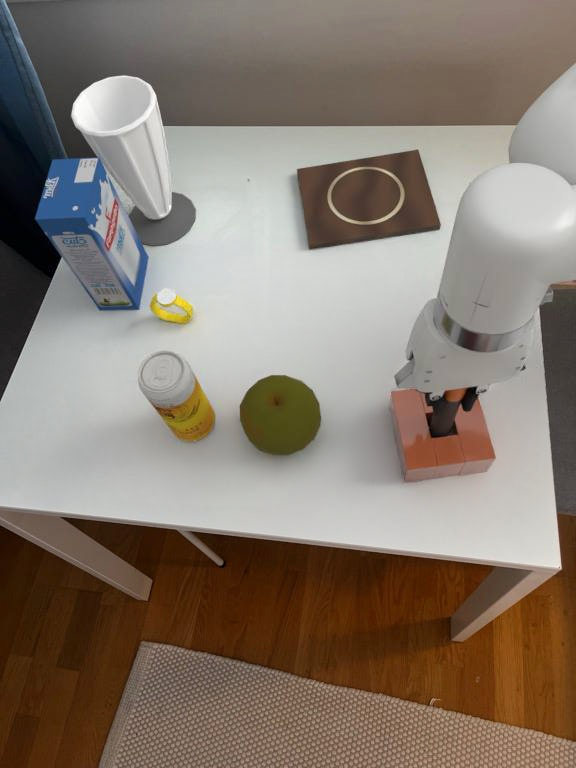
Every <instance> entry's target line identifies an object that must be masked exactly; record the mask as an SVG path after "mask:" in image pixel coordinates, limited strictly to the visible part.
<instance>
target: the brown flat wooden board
mask: <svg viewBox="0 0 576 768" xmlns="http://www.w3.org/2000/svg"><path fill="white" fill-rule="evenodd" d="M420 153H421V152H420V151H419V149H412V150H406V151H401V152H395V153H388V154H387V153H386V154H382V155H374V156H369V157H363V158H356V159H351V160H345V161H344V160H343V161H338V162H332V163H325V164H320V165H312V166H307V167H306V166H305V167H300V168H297V169H296V174H297V180H298V187H299V194H300V199H301V206H302V211H303V217H304V224H305V231H306V236H307V242H308V248H309V249H308V250H315V249H323V248H328V247H334V246H335V247H336V246H341V245H348V244H354V243H360V242H361V243H362V242H368V241H373V240H379V239H380V240H381V239H387V238H393V237H394V238H395V237H401V236H404V235H407V236H408V235H413V234H419V233H426V232H433V231H438V230H441V225H442V224H441V220H440V217H439V214H438V211H437V207H436V203H435V200H434V197H433V194H432V190H431V187H430V184H429V180H428V178H427V177H428V176H427V174H426V171H425V166H424V163H423V160H422V157H421V154H420Z"/></svg>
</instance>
